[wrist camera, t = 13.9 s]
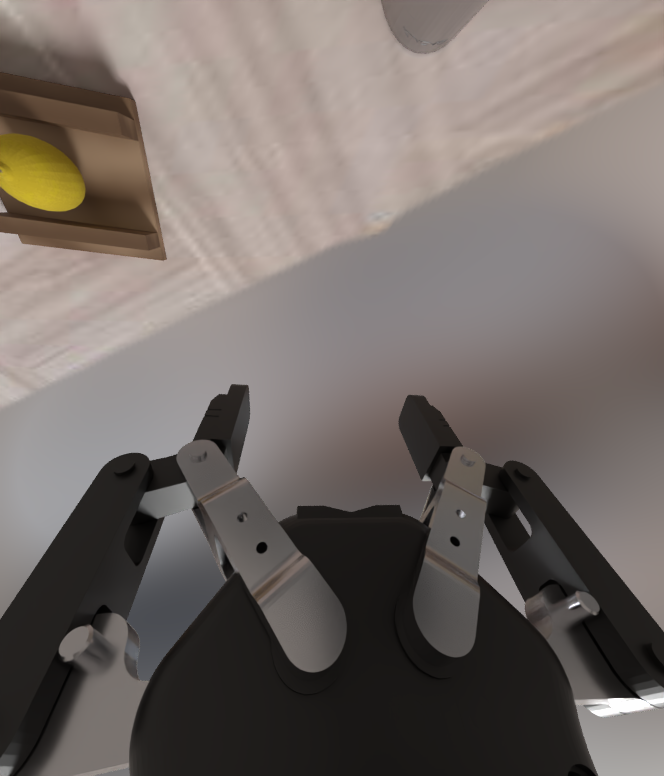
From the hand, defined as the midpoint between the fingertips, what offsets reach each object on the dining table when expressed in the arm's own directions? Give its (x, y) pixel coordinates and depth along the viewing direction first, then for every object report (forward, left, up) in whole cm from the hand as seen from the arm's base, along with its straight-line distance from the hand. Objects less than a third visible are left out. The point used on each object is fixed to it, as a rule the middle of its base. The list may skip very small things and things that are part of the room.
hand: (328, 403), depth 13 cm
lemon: (-7, -26, -27) cm, 38 cm away
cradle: (-7, -26, -28) cm, 39 cm away
